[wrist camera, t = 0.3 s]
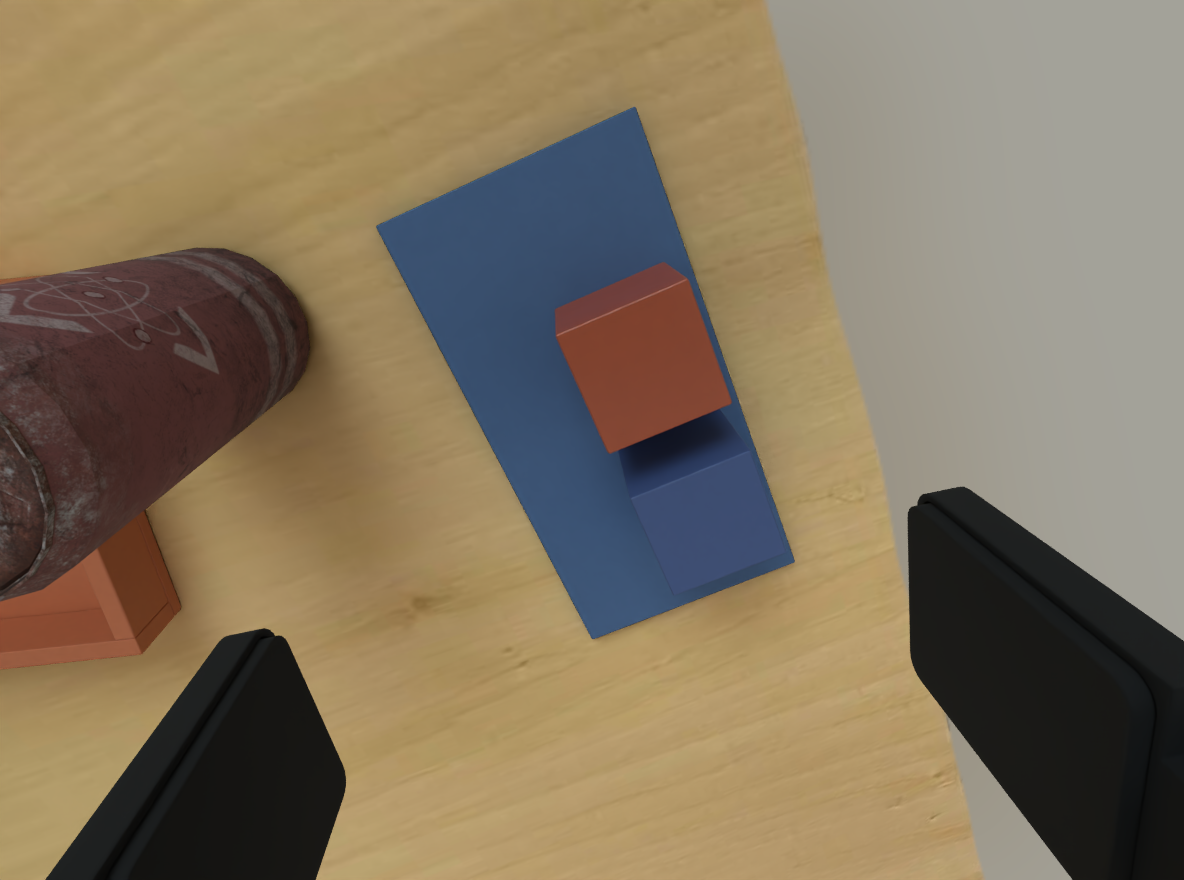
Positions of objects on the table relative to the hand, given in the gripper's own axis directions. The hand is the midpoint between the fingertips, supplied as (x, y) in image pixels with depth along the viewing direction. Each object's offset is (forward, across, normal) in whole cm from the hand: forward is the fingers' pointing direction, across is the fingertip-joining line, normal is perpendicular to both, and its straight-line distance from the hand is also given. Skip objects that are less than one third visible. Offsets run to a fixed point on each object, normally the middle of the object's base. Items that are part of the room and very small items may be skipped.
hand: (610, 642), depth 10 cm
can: (+18, +12, -4) cm, 22 cm away
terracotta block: (+17, -2, 0) cm, 17 cm away
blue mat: (+17, -1, +2) cm, 18 cm away
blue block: (+17, -4, +6) cm, 18 cm away
